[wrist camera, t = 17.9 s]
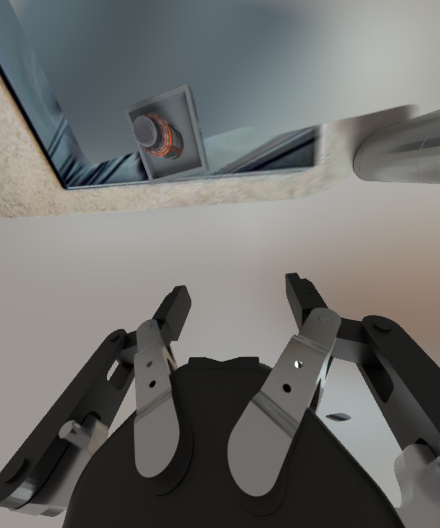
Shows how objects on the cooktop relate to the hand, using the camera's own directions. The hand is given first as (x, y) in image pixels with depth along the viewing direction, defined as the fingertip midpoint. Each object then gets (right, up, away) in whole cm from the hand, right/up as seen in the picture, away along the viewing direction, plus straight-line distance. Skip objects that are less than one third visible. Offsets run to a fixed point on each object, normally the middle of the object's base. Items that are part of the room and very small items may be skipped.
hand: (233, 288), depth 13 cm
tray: (-12, +29, +23) cm, 39 cm away
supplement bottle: (-12, +29, +23) cm, 38 cm away
